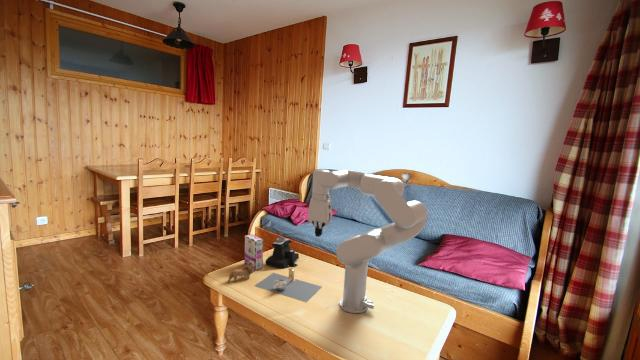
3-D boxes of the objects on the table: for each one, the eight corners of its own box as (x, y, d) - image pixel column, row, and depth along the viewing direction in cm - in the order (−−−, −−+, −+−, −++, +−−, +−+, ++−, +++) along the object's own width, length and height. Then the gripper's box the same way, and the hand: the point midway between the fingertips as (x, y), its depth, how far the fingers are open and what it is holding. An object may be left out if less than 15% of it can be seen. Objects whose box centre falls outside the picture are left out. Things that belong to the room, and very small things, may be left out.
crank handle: (280, 295, 141) (280, 284, 140) (268, 291, 143) (268, 280, 143) (298, 279, 156) (298, 270, 155) (287, 276, 158) (287, 267, 157)
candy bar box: (263, 268, 170) (263, 239, 167) (255, 271, 166) (255, 241, 164) (251, 261, 177) (252, 233, 175) (243, 263, 174) (244, 235, 171)
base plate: (322, 289, 151) (322, 286, 151) (306, 304, 137) (306, 302, 136) (273, 274, 163) (273, 272, 163) (254, 288, 149) (254, 285, 148)
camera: (280, 233, 186) (302, 236, 180) (281, 257, 188) (303, 260, 181) (264, 241, 172) (287, 244, 166) (265, 267, 174) (289, 271, 167)
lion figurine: (251, 275, 161) (251, 258, 160) (256, 279, 157) (257, 262, 156) (224, 283, 151) (224, 266, 150) (229, 288, 147) (229, 270, 146)
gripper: (338, 197, 142) (336, 236, 145) (309, 193, 148) (307, 230, 151) (332, 200, 135) (329, 241, 138) (301, 195, 142) (300, 235, 145)
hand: (318, 235), depth 145 cm, fingers closed
